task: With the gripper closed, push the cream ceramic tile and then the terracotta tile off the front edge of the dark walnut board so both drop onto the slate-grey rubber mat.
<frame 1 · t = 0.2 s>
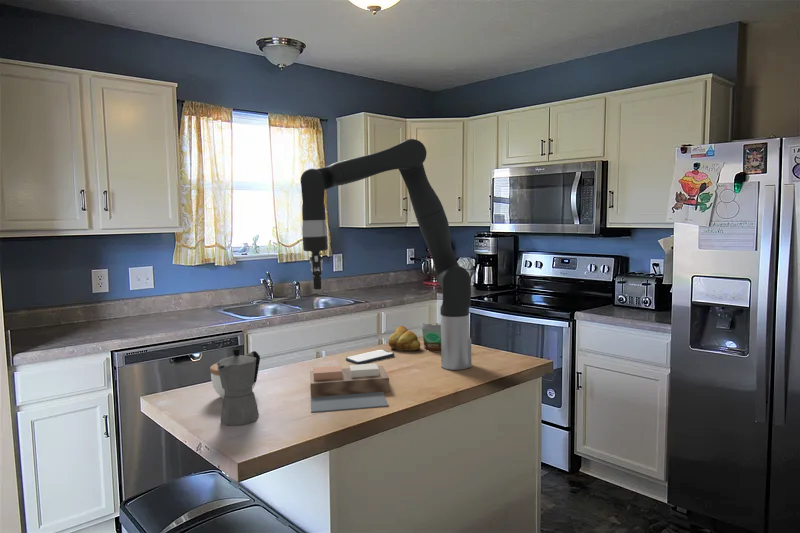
hand: (317, 287, 170), 28 cm above the worktop, fingers open, 8 cm apart
tile terracotta: (327, 372, 158), point 5 cm above the worktop, touching walnut board
bread roll: (404, 349, 206), on the worktop
walnut board: (348, 387, 160), on the worktop
tile cream: (363, 370, 160), point 5 cm above the worktop, touching walnut board
lidded bowl: (235, 397, 155), on the worktop
phone case: (370, 360, 193), on the worktop
coffeepot: (242, 418, 138), on the worktop
rubber mat: (348, 402, 148), on the worktop
food container: (436, 350, 202), on the worktop
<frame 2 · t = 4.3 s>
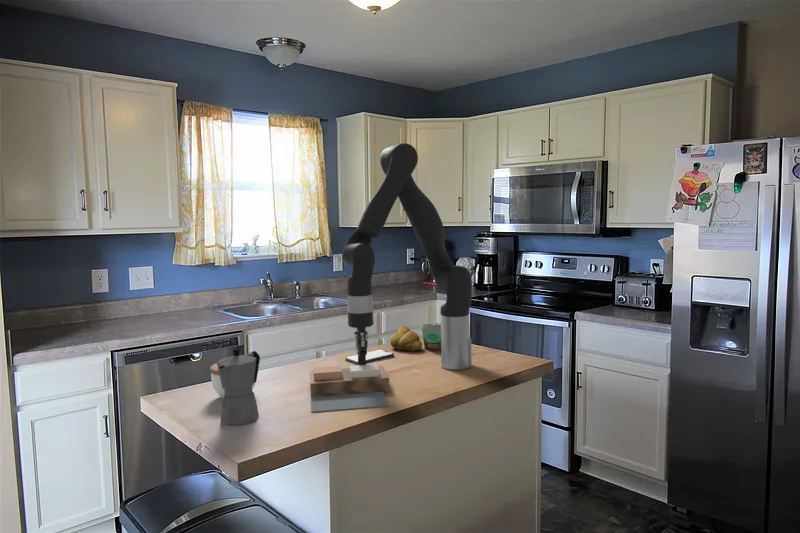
hand: (362, 367, 164), 5 cm above the worktop, fingers closed
tile cream: (364, 370, 159), point 5 cm above the worktop, touching gripper
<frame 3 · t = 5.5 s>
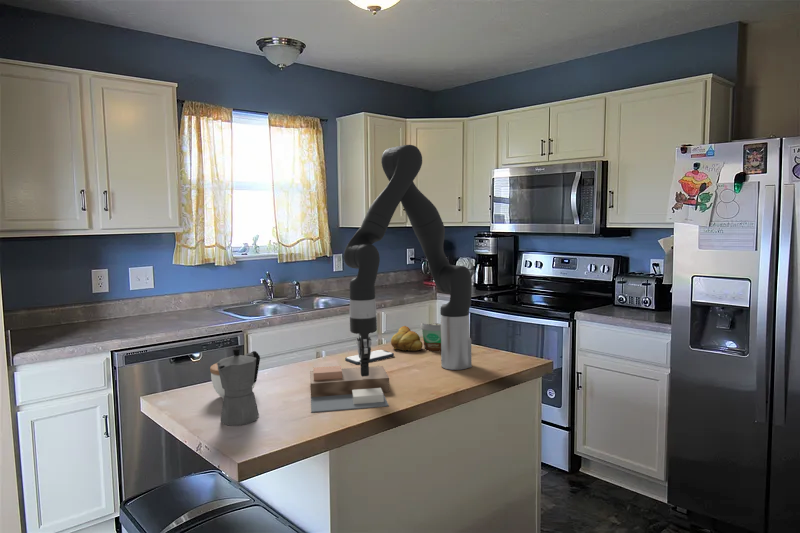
hand: (364, 375, 155), 5 cm above the worktop, fingers closed
tile cream: (367, 395, 149), point 1 cm above the worktop, tilted 180°, touching rubber mat
everything else where it was.
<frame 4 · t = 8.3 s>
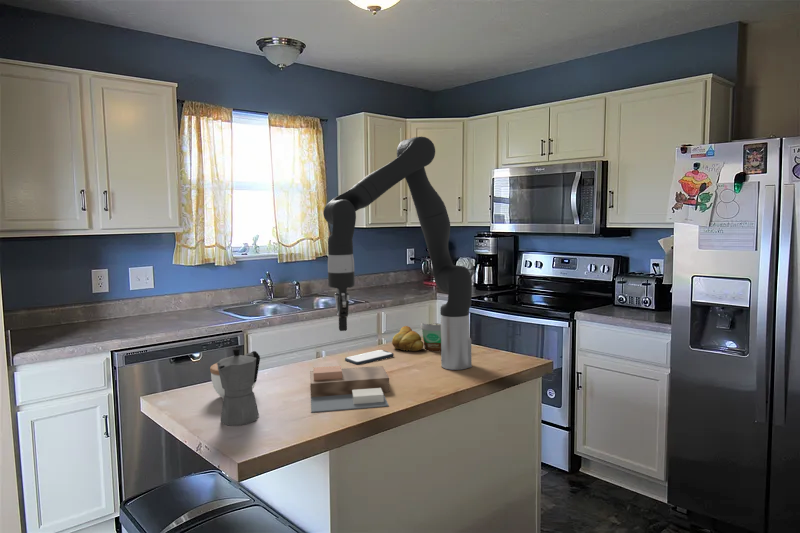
hand: (342, 330, 158), 17 cm above the worktop, fingers closed
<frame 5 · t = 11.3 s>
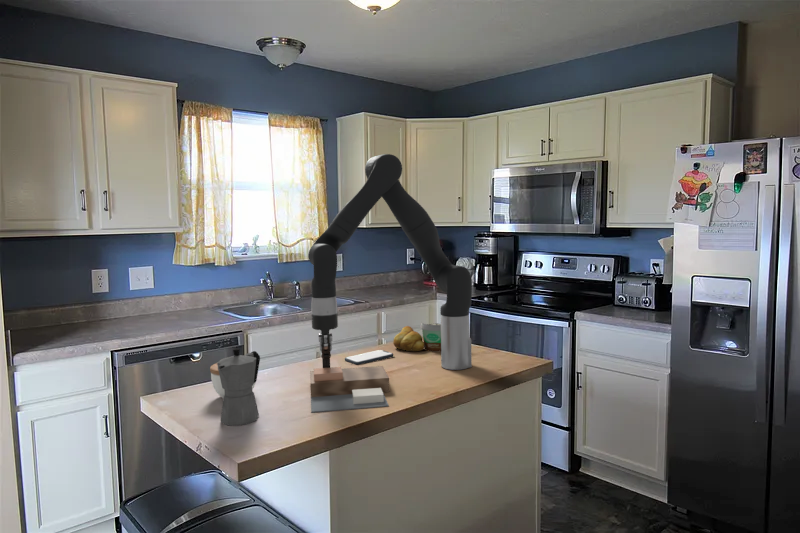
hand: (326, 370, 162), 5 cm above the worktop, fingers closed
tile terracotta: (327, 373, 157), point 5 cm above the worktop, touching gripper
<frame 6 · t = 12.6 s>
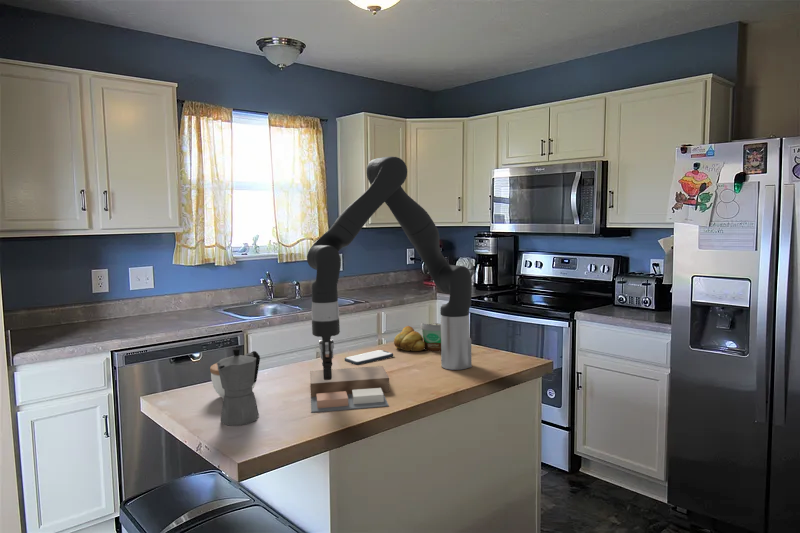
hand: (327, 379, 152), 5 cm above the worktop, fingers closed
tile terracotta: (332, 399, 146), point 1 cm above the worktop, tilted 180°, touching rubber mat
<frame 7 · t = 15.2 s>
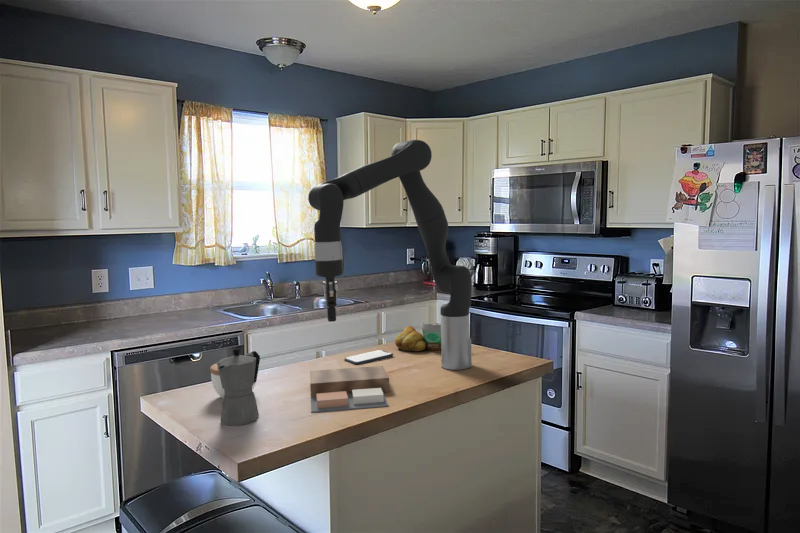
hand: (332, 320, 151), 21 cm above the worktop, fingers closed
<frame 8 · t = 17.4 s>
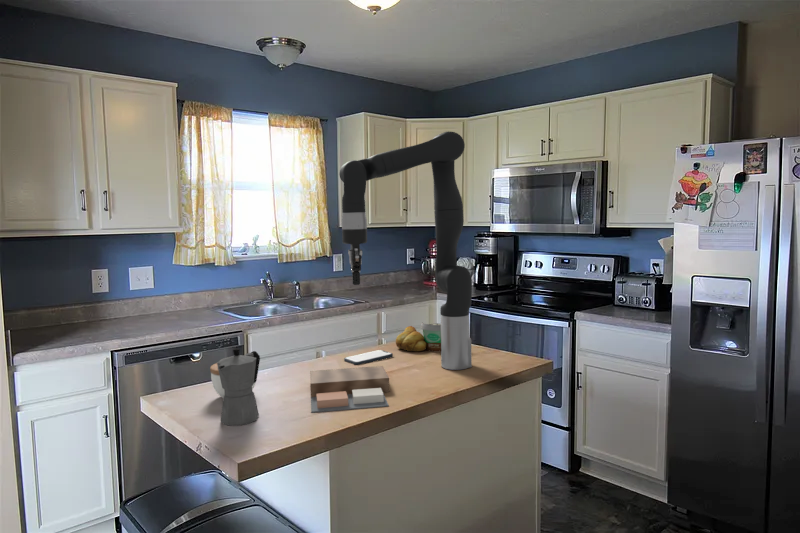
hand: (356, 284, 168), 29 cm above the worktop, fingers closed
at the end: tile cream inside the target area on the rubber mat (5.3 cm from its centre), point 1.3 cm above the rubber mat's base; tile terracotta inside the target area on the rubber mat (4.4 cm from its centre), point 1.3 cm above the rubber mat's base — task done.
